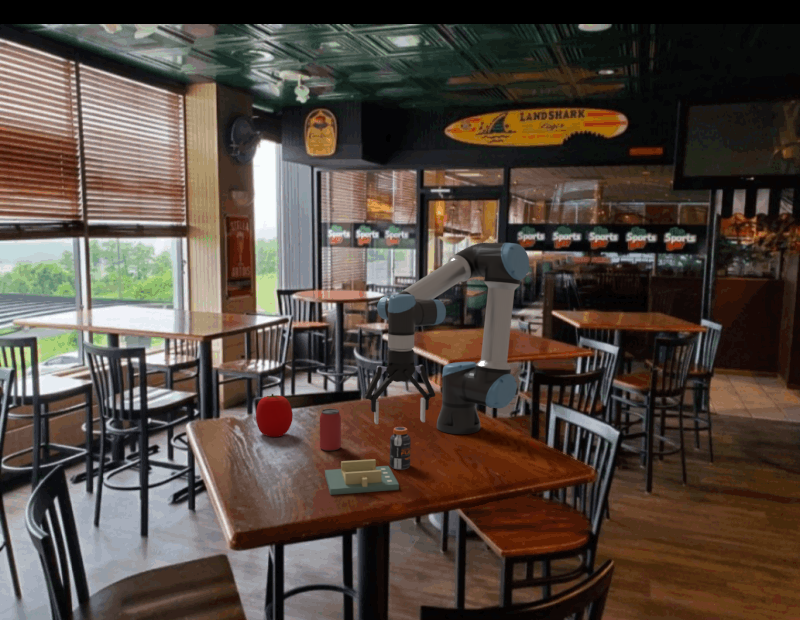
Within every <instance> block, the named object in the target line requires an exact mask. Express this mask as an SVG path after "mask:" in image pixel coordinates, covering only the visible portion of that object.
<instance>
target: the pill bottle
mask: <svg viewBox="0 0 800 620" xmlns="http://www.w3.org/2000/svg"><path fill="white" fill-rule="evenodd" d="M408 433H409V432H408V428H407V427H404V426H396V427H394V428H393V434H391V436H390V439H389V468H392V469H395V470H406V469H409V468H410V467H411V439H412V438H411V436H410V435H409V434H408Z"/></svg>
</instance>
